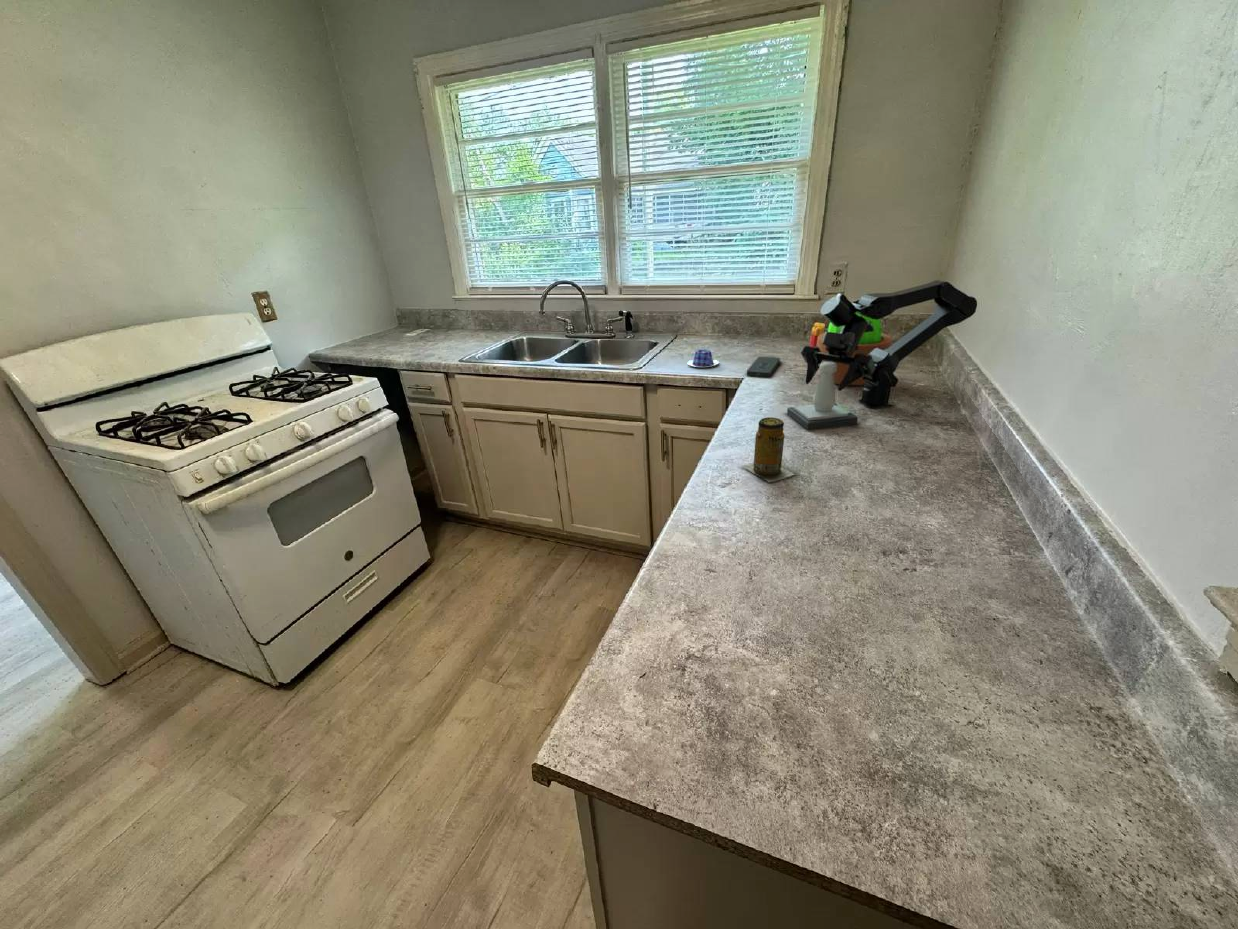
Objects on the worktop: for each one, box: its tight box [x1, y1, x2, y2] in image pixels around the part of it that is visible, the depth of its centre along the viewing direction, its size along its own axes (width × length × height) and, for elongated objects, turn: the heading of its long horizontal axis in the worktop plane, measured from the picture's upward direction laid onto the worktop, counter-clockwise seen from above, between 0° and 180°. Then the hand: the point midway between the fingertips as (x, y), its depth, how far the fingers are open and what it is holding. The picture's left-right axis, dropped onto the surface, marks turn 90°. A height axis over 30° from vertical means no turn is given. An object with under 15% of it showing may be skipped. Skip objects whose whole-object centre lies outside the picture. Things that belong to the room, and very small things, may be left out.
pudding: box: [687, 349, 720, 368], centre depth 189 cm, size 12×12×5 cm
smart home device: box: [746, 356, 781, 378], centre depth 181 cm, size 8×2×20 cm
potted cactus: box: [817, 313, 893, 386], centre depth 160 cm, size 22×22×25 cm
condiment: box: [744, 416, 796, 483], centre depth 109 cm, size 7×8×12 cm
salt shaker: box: [812, 362, 837, 412], centre depth 132 cm, size 6×6×13 cm
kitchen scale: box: [786, 402, 859, 431], centre depth 136 cm, size 14×12×3 cm
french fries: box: [809, 322, 826, 347], centre depth 186 cm, size 9×4×13 cm, turn 163°
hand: (822, 386), depth 131 cm, fingers open, 9 cm apart
